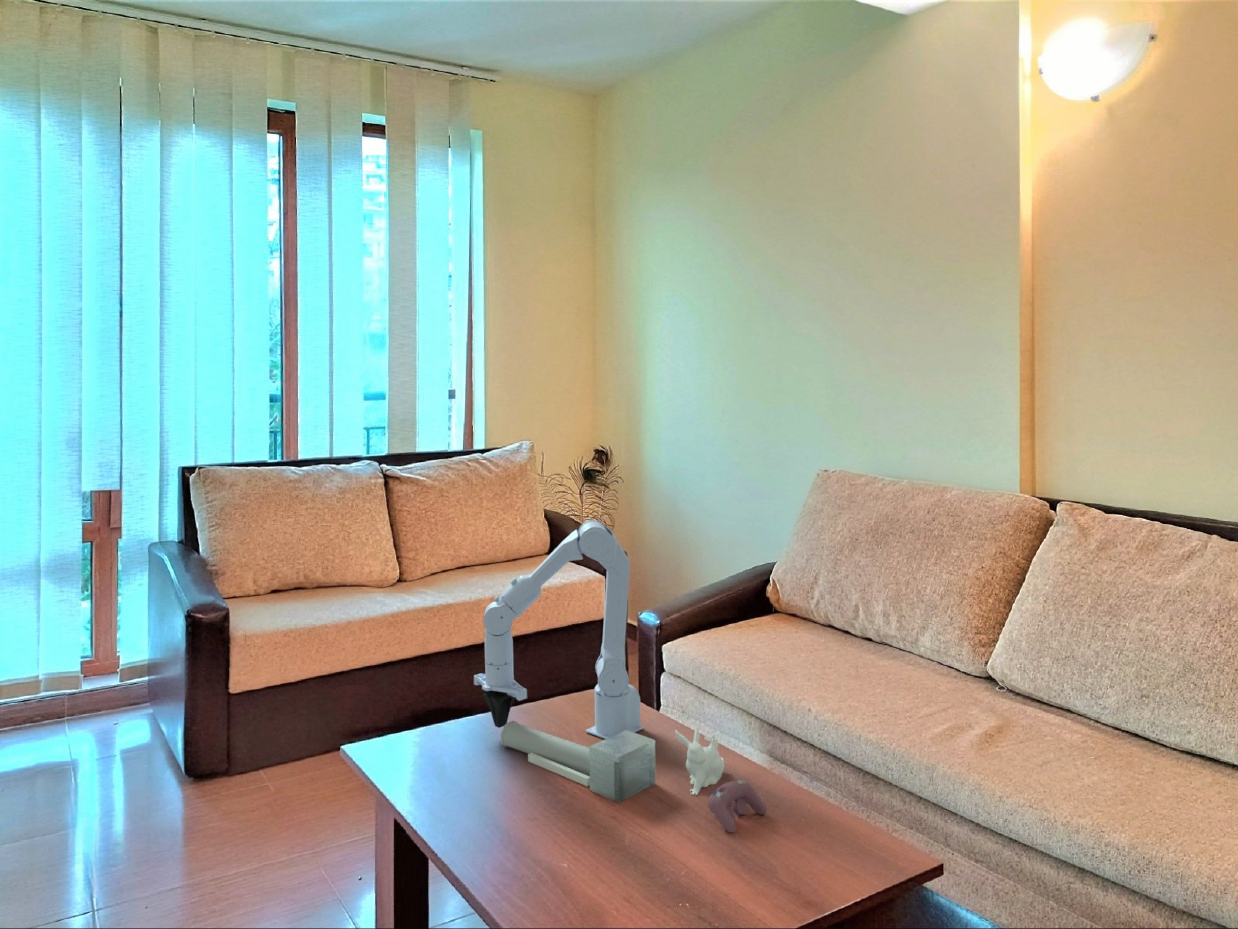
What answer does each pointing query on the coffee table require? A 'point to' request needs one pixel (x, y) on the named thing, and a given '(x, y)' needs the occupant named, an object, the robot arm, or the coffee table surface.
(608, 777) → the socket
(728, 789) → the video game controller
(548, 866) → the coffee table surface
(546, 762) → the rails
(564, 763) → the tube
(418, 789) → the coffee table surface
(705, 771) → the rabbit figurine
